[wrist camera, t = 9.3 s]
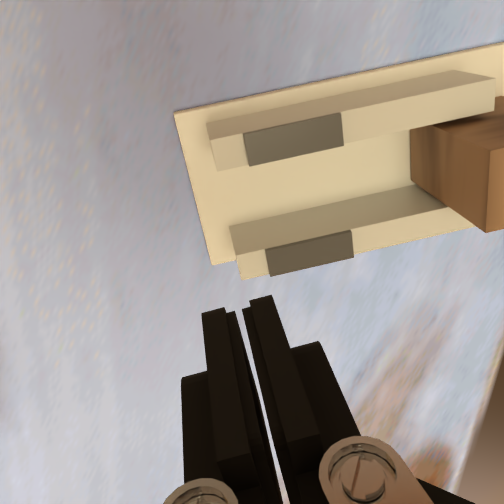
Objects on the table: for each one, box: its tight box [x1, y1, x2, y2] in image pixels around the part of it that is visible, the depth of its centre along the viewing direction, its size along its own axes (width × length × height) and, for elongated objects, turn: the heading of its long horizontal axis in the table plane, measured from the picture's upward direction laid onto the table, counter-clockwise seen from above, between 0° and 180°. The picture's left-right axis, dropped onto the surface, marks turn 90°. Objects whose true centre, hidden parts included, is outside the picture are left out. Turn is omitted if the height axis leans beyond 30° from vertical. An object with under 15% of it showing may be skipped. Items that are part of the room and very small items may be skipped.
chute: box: [174, 42, 504, 280], centre depth 34 cm, size 26×12×6 cm, turn 101°
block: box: [410, 96, 504, 233], centre depth 31 cm, size 7×5×10 cm
